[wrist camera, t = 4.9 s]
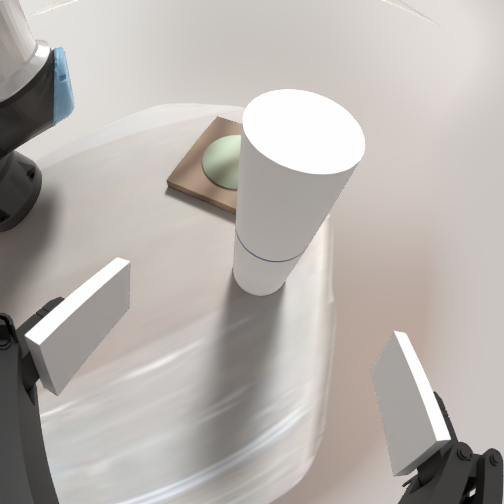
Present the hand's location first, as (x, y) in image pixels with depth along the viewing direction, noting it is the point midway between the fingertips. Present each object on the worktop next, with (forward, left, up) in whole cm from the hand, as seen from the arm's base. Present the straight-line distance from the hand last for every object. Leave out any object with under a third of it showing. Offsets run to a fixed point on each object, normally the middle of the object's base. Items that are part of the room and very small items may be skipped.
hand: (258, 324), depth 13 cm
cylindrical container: (-2, +11, -23) cm, 25 cm away
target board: (-12, +25, -23) cm, 35 cm away
